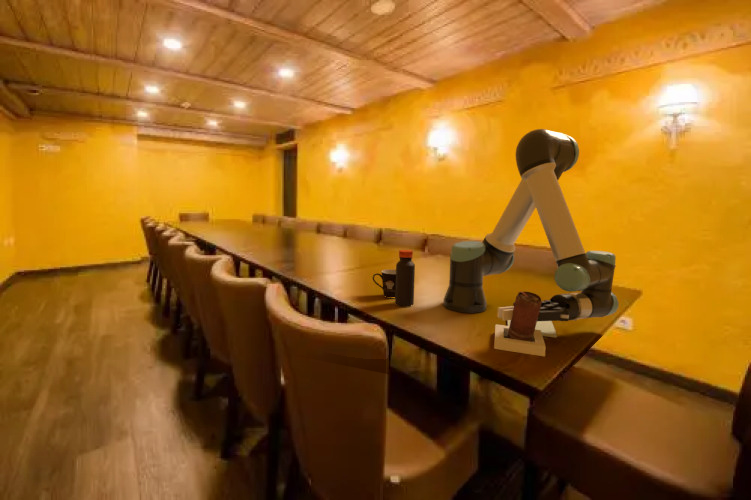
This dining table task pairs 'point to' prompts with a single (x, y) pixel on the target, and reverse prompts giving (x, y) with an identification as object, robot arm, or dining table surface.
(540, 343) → the cup holder
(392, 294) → the coffee mug
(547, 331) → the rubber mat
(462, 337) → the dining table surface
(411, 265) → the bottle
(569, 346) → the dining table surface
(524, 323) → the can
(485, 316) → the dining table surface
